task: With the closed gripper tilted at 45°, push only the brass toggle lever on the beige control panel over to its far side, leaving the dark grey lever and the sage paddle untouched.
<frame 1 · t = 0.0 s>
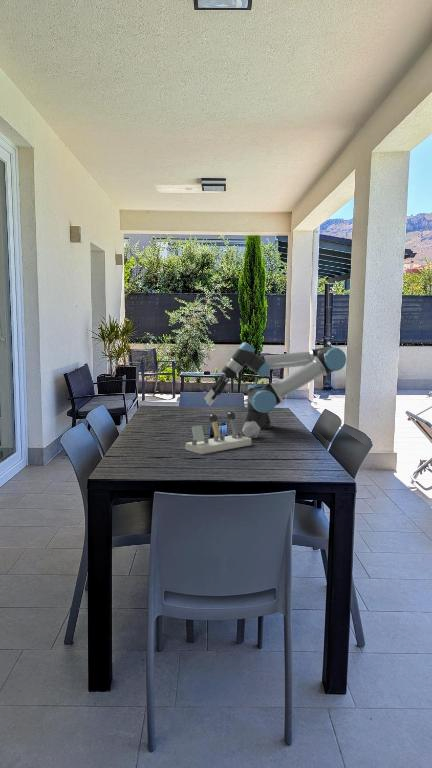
hand: (207, 402, 284), 15 cm above the table, tool tilted 35°, fingers open, 13 cm apart
brass lever: (215, 426, 252), point 9 cm above the table, hinge at -25.0°
die: (251, 437, 273), on the table
sage paddle: (198, 433, 244), point 7 cm above the table, hinge at -20.0°
grey lever: (233, 423, 259), point 9 cm above the table, hinge at -25.0°
panel: (219, 447, 251), on the table
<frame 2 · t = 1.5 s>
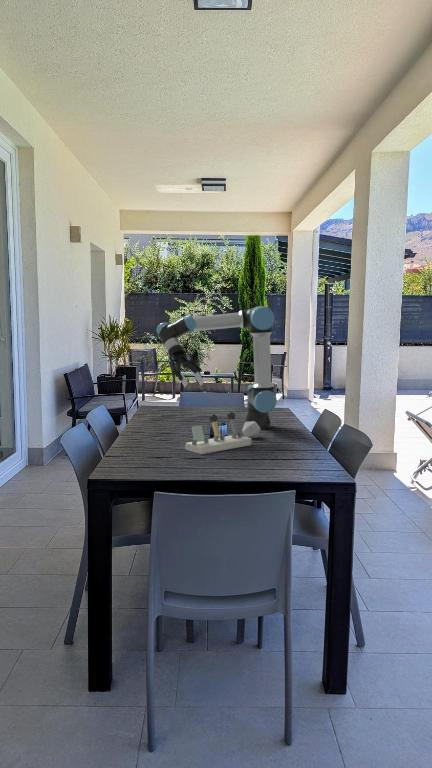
hand: (194, 384, 262), 27 cm above the table, tool tilted 45°, fingers open, 9 cm apart
nothing on the table moved.
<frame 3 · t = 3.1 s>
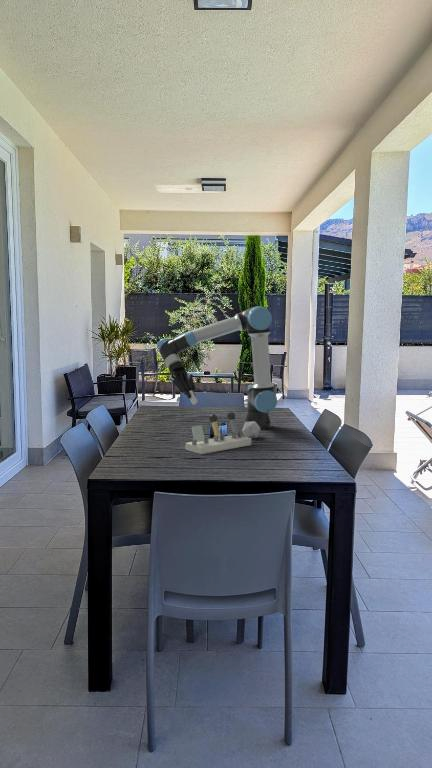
hand: (195, 403, 261), 18 cm above the table, tool tilted 45°, fingers closed
nothing on the table moved.
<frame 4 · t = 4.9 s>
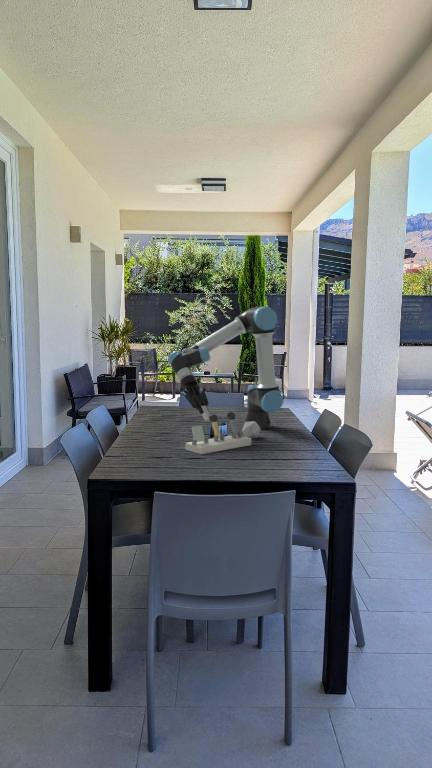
hand: (207, 418, 254), 12 cm above the table, tool tilted 45°, fingers closed
brass lever: (215, 426, 252), point 9 cm above the table, hinge at -24.0°, touching gripper
everything else where it was.
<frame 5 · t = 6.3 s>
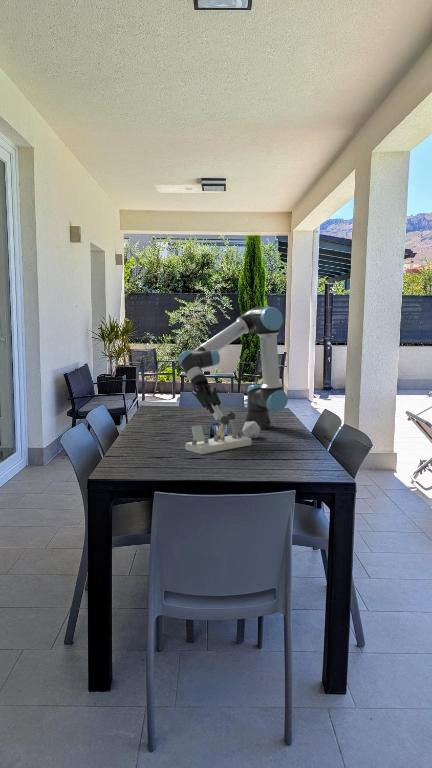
hand: (219, 418, 247), 14 cm above the table, tool tilted 45°, fingers closed
brass lever: (222, 427, 248), point 9 cm above the table, hinge at 20.6°, touching gripper
everything else where it was.
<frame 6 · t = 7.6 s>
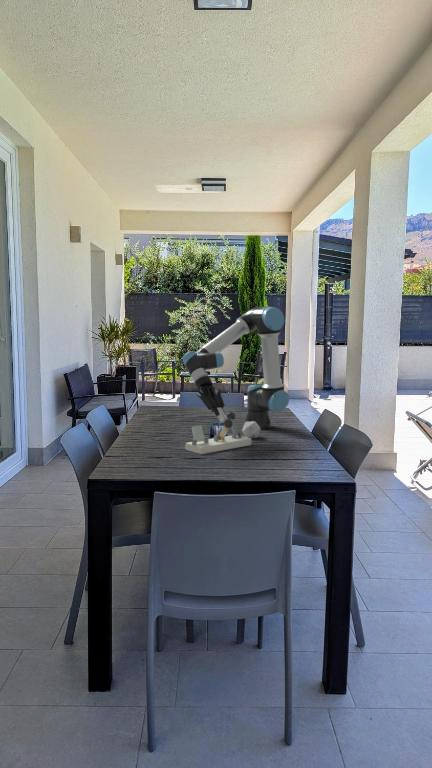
hand: (224, 420, 246), 13 cm above the table, tool tilted 45°, fingers closed
brass lever: (224, 429, 247), point 9 cm above the table, hinge at 34.3°, touching gripper
everything else where it was.
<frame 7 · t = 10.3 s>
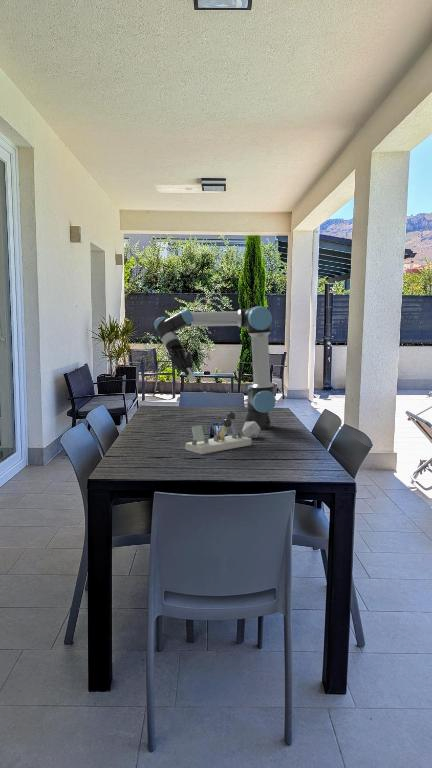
hand: (192, 379, 262), 29 cm above the table, tool tilted 45°, fingers closed
brass lever: (224, 429, 247), point 9 cm above the table, hinge at 30.8°
everything else where it was.
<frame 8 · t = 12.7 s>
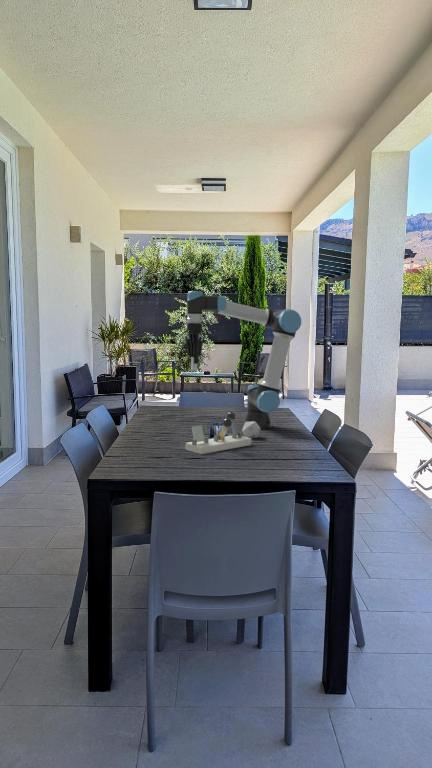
hand: (194, 369, 277), 32 cm above the table, tool pointing down, fingers closed
nothing on the table moved.
at the end: brass lever at +31° (first picture: -25°); grey lever at -25° (first picture: -25°); sage paddle at -20° (first picture: -20°) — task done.
